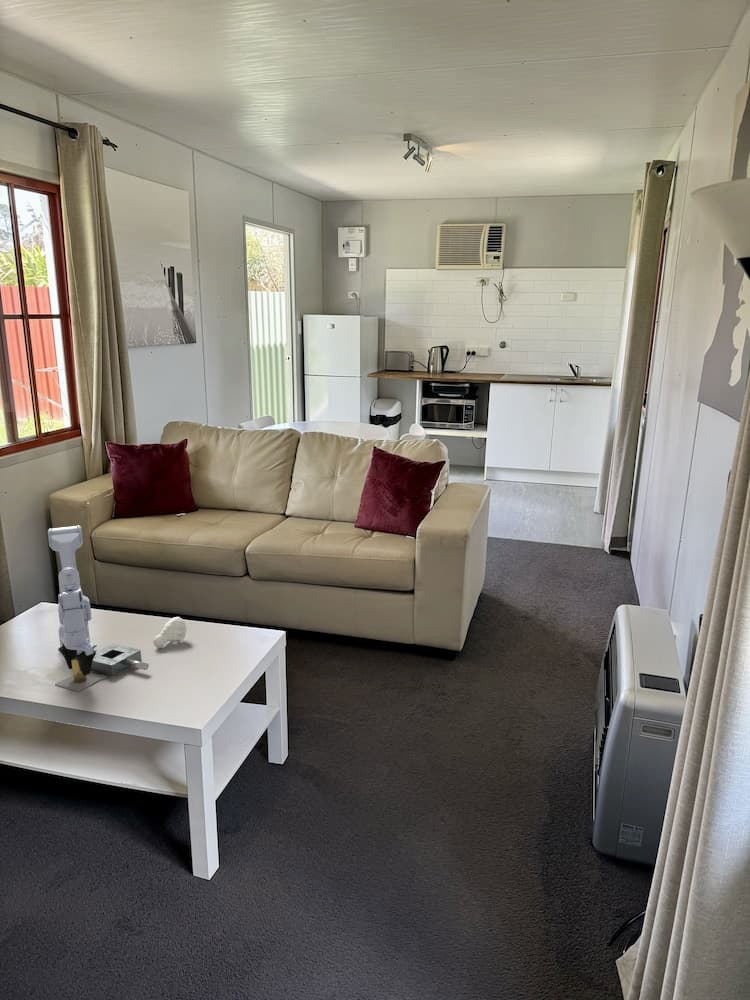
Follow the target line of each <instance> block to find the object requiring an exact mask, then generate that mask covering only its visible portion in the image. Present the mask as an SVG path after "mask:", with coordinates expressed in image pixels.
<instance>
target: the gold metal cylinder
mask: <svg viewBox="0 0 750 1000" xmlns="http://www.w3.org/2000/svg"><path fill="white" fill-rule="evenodd" d="M71 661H72V669H71V670H72V675H73V676H74V682H75V683H80V682H84V681H86V680H87V675H85V676H83V674H82V672H81V667H80V664H79V662H78V660H77V658H76V657H74V658H72V659H71Z"/></svg>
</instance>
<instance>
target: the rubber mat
mask: <svg viewBox="0 0 750 1000" xmlns="http://www.w3.org/2000/svg"><path fill="white" fill-rule="evenodd" d="M106 678H107V677H106V675H102V674H98V673H94V672H90V674H88V675H87V680H86V681H84V682H80V683H75V682H74V676H73V674H72V675H70V676H68V677H66V678H65V679H62V680H60V681H59V682H56V683H54V686H56V687H59V686H60V687H59V688H64V689H67V690H70V689H71V690H70V691H74V690H75V692H78V693H80V692H82V691H84V690H85V689H88V688H90V687H92V686H93V685H94V684H96V683H98V682H100V681H103V680H104V679H106Z"/></svg>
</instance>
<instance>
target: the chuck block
mask: <svg viewBox="0 0 750 1000" xmlns="http://www.w3.org/2000/svg"><path fill="white" fill-rule="evenodd" d="M131 668H135V669H141V670H144V671H146V670H148V669H149V663H147V662H142V652H141V649H139V648H133V647H130V646H129V647H128V646H125V645H120V644H117V643H116V644H115V643H112V644H109V645H108V646H106V647H104V648H102V649H100V650H97V651H96V655H95V656H94V659H93V661H92V666H91V673H95V674H98V675H102V676H107V677H110V678H115V677H116V676H119V674H122V673H124V672H125V671H127V670H129V669H131Z"/></svg>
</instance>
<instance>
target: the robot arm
mask: <svg viewBox="0 0 750 1000" xmlns="http://www.w3.org/2000/svg"><path fill="white" fill-rule="evenodd" d="M47 537H48V538H47V539H48V545H49V546H48V547H50V548H51V550H52V551H55V552H58V553H59V558H60V565H61V569H62V570H60V571H59V572H58V576H57V577H58V587H59V594H58V596H57V597H58V606H57V607H58V611H57V612H58V619H59V624H60V625H59V628H58V636H59V637H58V638H59V645H60V647H58V651H59V653H61V655H62V656H63V659H64V661H65V663H66V667H68V669H69V670H73V669H72V661H71V659H72V658H74V657H76V658H77V660H78V662H79V664H80V667H81V672H82V674H83V676H85V675H88V674H90V672H91V666H92V661H93V659H94V656H95V655H96V652H97V651H96V650H94V648H95V647H96V646H97V643H94V642H91V639H90V638H91V636H90V630H89V629H90V628H89V622H90V621H92V610H91V603H90V599H89V597H87V596H85V594H84V592H83V590H82V587H81V580H80V579H81V578H80V572H79V570H78V569H77V561H76V560H77V559H76V550H78V549H80V548H81V547H83V545H84V544H83V543H84V540H83V539H84V538H83V532H82V526H81V525H80V524H77V525H72V526H63V527H62V526H61V527H55V528H54V527H53V528H51V527H50V528H49V529H48V530H47ZM91 673H92V672H91Z"/></svg>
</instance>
